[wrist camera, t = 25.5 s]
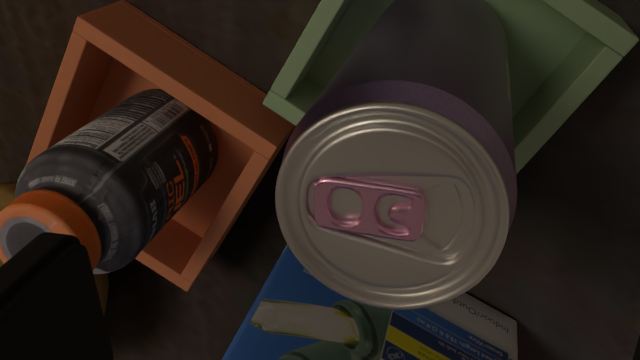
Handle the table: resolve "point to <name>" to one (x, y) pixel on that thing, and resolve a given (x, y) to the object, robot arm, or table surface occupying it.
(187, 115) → the pill bottle
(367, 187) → the beverage can
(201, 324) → the table surface
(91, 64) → the terracotta bin
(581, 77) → the sage bin
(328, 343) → the string lights box
